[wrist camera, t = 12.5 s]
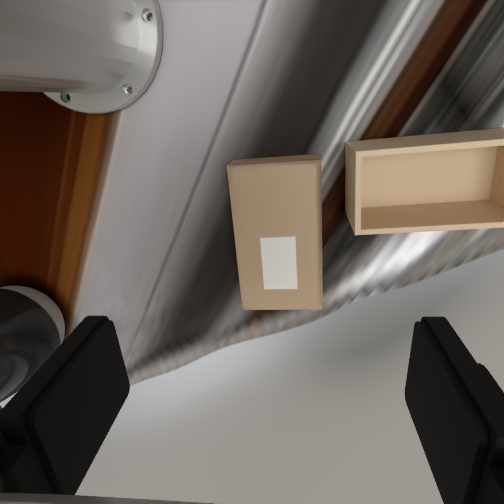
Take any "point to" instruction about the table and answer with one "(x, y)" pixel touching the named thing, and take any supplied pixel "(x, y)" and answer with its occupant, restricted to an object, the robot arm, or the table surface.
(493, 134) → the box
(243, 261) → the lid
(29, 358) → the grey egg-shaped speaker
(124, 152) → the table surface
